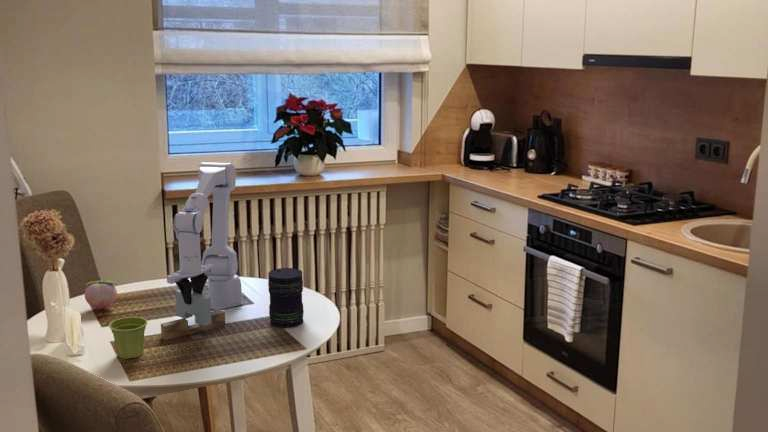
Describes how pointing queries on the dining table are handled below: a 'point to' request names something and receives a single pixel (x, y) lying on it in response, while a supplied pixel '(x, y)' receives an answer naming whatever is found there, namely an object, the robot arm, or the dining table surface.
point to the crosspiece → (194, 308)
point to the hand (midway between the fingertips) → (192, 302)
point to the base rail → (182, 328)
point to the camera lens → (285, 298)
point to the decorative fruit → (100, 293)
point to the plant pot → (129, 336)
